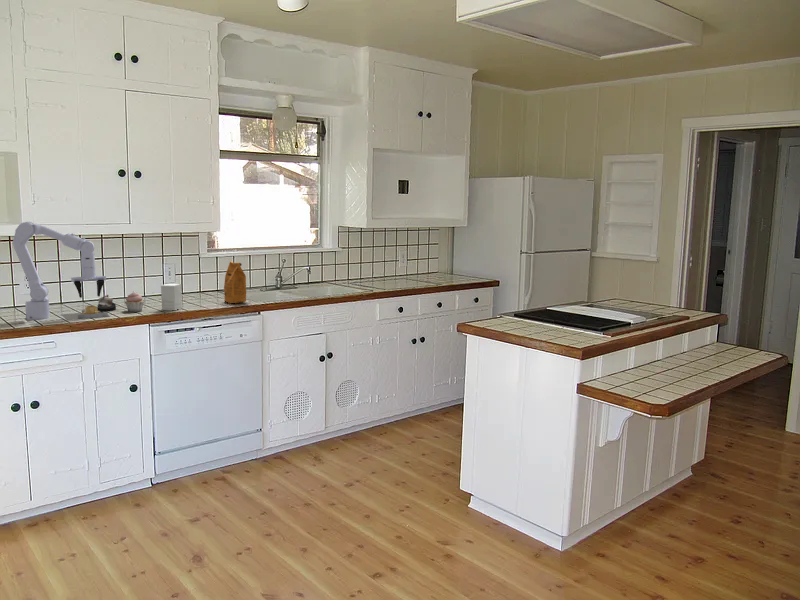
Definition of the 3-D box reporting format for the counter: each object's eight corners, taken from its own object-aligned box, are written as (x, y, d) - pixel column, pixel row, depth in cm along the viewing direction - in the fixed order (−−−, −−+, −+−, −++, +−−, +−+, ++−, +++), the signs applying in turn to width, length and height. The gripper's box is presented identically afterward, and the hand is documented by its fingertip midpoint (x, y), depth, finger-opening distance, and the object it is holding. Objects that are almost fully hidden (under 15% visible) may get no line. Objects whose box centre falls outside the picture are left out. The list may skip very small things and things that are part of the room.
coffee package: (238, 300, 375) (238, 260, 372) (248, 303, 366) (247, 262, 362) (221, 301, 369) (220, 261, 366) (231, 304, 359) (230, 263, 356)
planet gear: (84, 317, 308) (83, 308, 307) (81, 315, 314) (80, 305, 313) (101, 316, 312) (101, 306, 311) (98, 314, 318) (97, 304, 317)
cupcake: (132, 309, 340) (131, 289, 338) (148, 310, 338) (147, 290, 336) (120, 312, 331) (119, 291, 329) (137, 313, 329) (136, 292, 327)
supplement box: (182, 308, 344) (181, 283, 342) (174, 311, 337) (174, 285, 335) (169, 308, 345) (168, 283, 343) (161, 310, 338) (160, 285, 336)
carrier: (67, 322, 302) (67, 314, 302) (60, 316, 315) (60, 309, 315) (110, 318, 312) (110, 310, 312) (102, 313, 326) (101, 306, 325)
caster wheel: (107, 319, 326) (91, 314, 329) (124, 310, 336) (108, 306, 339) (106, 306, 324) (90, 301, 327) (123, 298, 333) (107, 294, 336)
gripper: (72, 268, 303) (74, 298, 305) (107, 267, 311) (108, 296, 313) (69, 267, 308) (71, 297, 310) (103, 266, 317) (105, 294, 319)
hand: (89, 296), depth 312 cm, fingers open, 7 cm apart
